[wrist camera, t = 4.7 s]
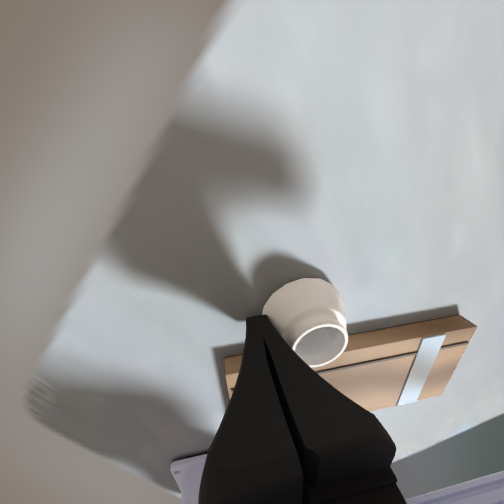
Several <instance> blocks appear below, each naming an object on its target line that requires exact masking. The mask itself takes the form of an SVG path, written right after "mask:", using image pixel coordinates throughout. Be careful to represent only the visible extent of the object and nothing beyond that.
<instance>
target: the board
mask: <svg viewBox="0 0 504 504" xmlns="http://www.w3.org/2000/svg"><path fill="white" fill-rule="evenodd" d="M476 328H477V326H476V325H475V324H473V323H472V322H470V321H468V320H467V319H465V318H464V317H462V316H461V315H457V316H451V317H446V318H441V319H435V320H430V321H424V322H419V323H413V324H408V325H402V326H397V327H392V328H386V329H381V330H375V331H370V332H364V333H359V334H354V335H348V343H347V346H346V348H345V350H344V351H343V352H342V354H341V355H340V356H339V357H337V358H336V359H335V360H333V361H332V362H330V363H328V364H325V365H323V366H319V367H311V368H312V369H313V370H314V371H315V372H316V373H317V374H319V375H320V376H321V377H322V378H323V379H325V380H326V381H327V382H328V383H330V384H331V385H332V386H333V387H335V388H336V389H337V390H338V391H340V392H341V393H343V394H344V395H345V396H347V397H348V398H349V399H351V400H352V401H354V402H355V403H357V404H358V405H360V406H361V407H363V408H364V409H366V410H367V411H369V412H370V411H374V410H378V409H383V408H387V407H391V406H396V405H397V406H399V405H404V404H408V403H412V402H416V401H417V400H422V399H426V398H430V397H435V396H439V395H442V393H443V391H444V389H445V387H446V385H447V384H448V382H449V380H450V378H451V376H452V374H453V372H454V370H455V368H456V366H457V364H458V363H459V361H460V359H461V357H462V355H463V353H464V351H465V349H466V347H467V345H468V343H469V342H470V340H471V338H472V336H473V334H474V332H475V330H476ZM242 357H243V355H239V356H234V357H228V358H224V359H225V376H226V382H227V387H228V393H229V398H230V399H231V396H232V393H233V390H234V387H235V384H236V381H237V377H238V374H239V370H240V366H241V362H242Z"/></svg>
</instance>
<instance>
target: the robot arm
mask: <svg viewBox="0 0 504 504" xmlns="http://www.w3.org/2000/svg"><path fill="white" fill-rule="evenodd" d="M395 452H396V446H395V444H394V442H393V440H392V439H391V437H390V436H389V434H388V432H387V431H386V430H385V428H384V427H383V426H382V424H381V423H380V422H379V420H378V419H377V418H376V417H375V415H374V414H372V413H370V412H369V411H367V410H366V409H364V408H363V407H361V406H360V405H358V404H357V403H355V402H354V401H352V400H351V399H349V398H348V397H347V396H345V395H344V394H343V393H341V392H340V391H338V390H337V389H336V388H335V387H333V386H332V385H331V384H330V383H328V382H327V381H326V380H325V379H323V378H322V377H321V376H320V375H319V374H317V373H316V372H315V371H314V370H313V369H312V368H311V367H310V366H309V365H308V364H306V363H305V362H304V361H303V360H302V359H301V358H300V357H299V356H298V355H297V353H296V352H295V351H294V350H293V349H292V348H291V347H290V346H289V345H288V343H287V342H286V341H285V340H284V338H283V337H282V336H281V335H280V333H279V332H278V331H277V329H276V328H275V327H274V325H273V324H272V322H271V321H270V319H269V318H268V316H267V315H266V314H265V315H259V316H253V317H247V318H246V339H245V347H244V352H243V357H242V362H241V366H240V370H239V374H238V377H237V381H236V384H235V387H234V390H233V393H232V396H231V399H230V402H229V404H228V407H227V409H226V412H225V414H224V417H223V419H222V422H221V424H220V427H219V429H218V431H217V433H216V435H215V438H214V440H213V442H212V444H211V446H210V448H209V450H208V453H207V454H204V455H199V456H195V457H191V458H186V459H182V460H178V461H174V462H172V463H171V465H170V471H171V473H172V475H173V477H174V479H175V481H176V483H177V485H178V487H179V489H180V491H181V504H504V471H501V472H498V473H495V474H491V475H487V476H484V477H481V478H477V479H474V480H470V481H467V482H463V483H460V484H457V485H454V486H450V487H447V488H443V489H440V490H436V491H433V492H429V493H426V494H423V495H419V496H416V497H412V498H409V499H404V498H403V496H402V494H401V492H400V490H399V488H398V487H397V485H396V482H397V479H396V476H395V475H394V473H393V471H392V469H391V467H390V465H391V463H392V460H393V458H394V456H395Z"/></svg>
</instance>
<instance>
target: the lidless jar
mask: <svg viewBox="0 0 504 504" xmlns="http://www.w3.org/2000/svg"><path fill="white" fill-rule="evenodd" d="M265 314H266V315H267V316H268V318H269V319H270V321H271V322H272V324H273V325H274V327H275V328H276V329H277V331H278V332H279V333H280V335H281V336H282V337H283V338H284V340H285V341H286V342H287V343H288V345H289V346H290V347H291V348H292V349H293V350H294V351H295V352H296V353H297V355H298V356H299V357H300V358H301V359H302V360H303V361H304V362H305V363H306V364H308V365H309V366H310V367H319V366H323V365H325V364H328V363H330V362H332V361H333V360H335V359H336V358H337V357H339V356H340V355H341V354H342V352H343V351H344V350H345V348H346V346H347V343H348V334H347V330H346V317H345V310H344V303H343V298H342V296H341V295H340V294H339V292H338V291H337V289H336V288H335V287H334V286H333V285H332V284H330V283H328V282H326V281H324V280H322V279H318V278H302V279H299V280H296V281H293V282H290V283H287V284H285V285H284V286H282V287H281V288H280V289H278V290H277V291H276V292H274V293H273V294H272V295H271V297H270V298H269V300H268V301H267V302H266V304H265V305H264V307H263V313H262V315H265Z"/></svg>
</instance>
